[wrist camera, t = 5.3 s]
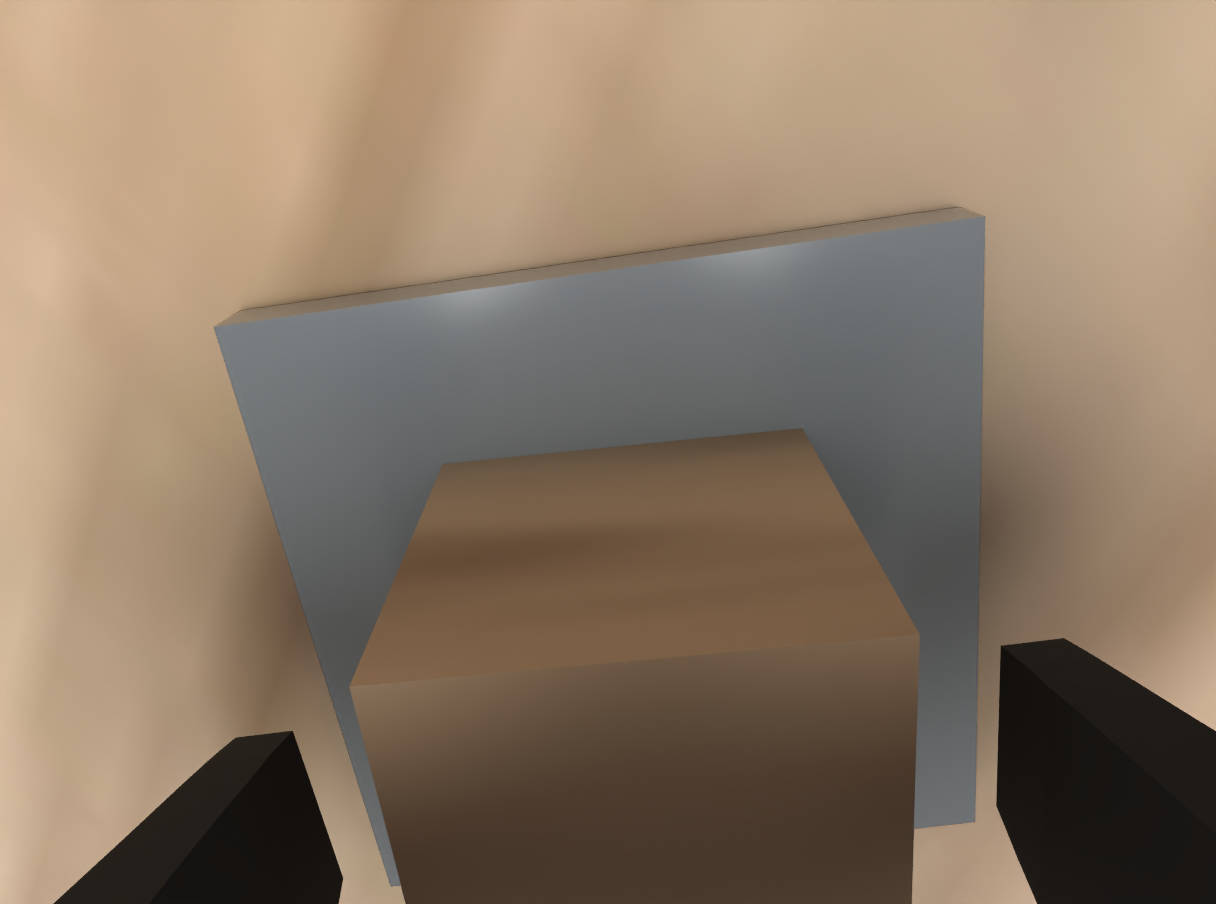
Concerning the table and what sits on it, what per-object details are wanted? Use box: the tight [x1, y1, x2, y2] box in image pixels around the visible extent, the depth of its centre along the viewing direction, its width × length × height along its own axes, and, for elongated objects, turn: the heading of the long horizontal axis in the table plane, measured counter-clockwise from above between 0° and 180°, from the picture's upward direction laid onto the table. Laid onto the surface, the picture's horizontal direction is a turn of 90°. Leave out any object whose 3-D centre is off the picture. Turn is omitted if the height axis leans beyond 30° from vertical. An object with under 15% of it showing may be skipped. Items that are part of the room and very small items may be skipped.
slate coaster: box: [214, 207, 985, 886], centre depth 12 cm, size 9×9×1 cm
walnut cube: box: [349, 428, 920, 904], centre depth 10 cm, size 4×4×4 cm
